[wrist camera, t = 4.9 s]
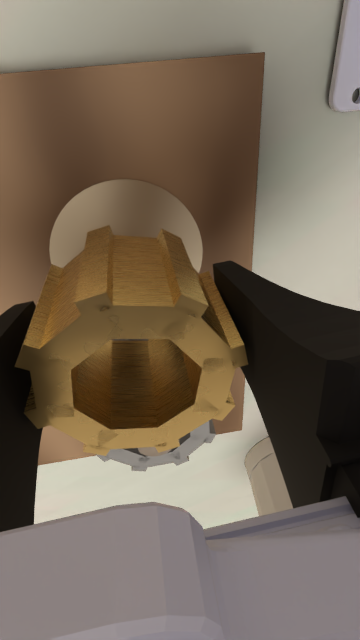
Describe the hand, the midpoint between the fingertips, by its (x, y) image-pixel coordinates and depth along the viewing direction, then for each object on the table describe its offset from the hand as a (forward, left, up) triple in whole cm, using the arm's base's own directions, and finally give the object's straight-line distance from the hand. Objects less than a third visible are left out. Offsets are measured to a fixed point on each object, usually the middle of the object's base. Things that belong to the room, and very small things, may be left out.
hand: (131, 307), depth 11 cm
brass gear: (0, 0, 0) cm, 1 cm away
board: (+2, +3, -5) cm, 7 cm away
